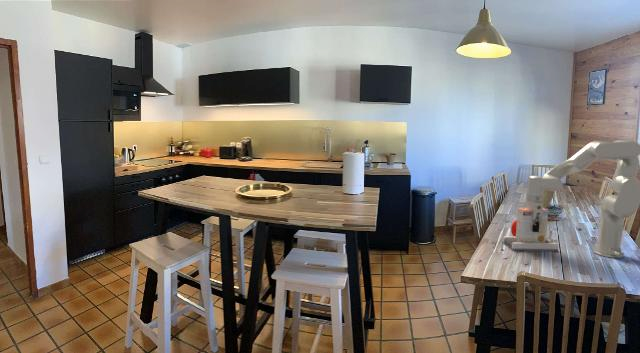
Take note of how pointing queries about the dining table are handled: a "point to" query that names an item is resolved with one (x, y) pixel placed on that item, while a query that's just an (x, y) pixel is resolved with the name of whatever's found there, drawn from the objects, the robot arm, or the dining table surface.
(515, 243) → the shallow gray tray
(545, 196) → the plant pot
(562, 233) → the dining table surface
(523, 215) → the cracker box
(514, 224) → the apple
